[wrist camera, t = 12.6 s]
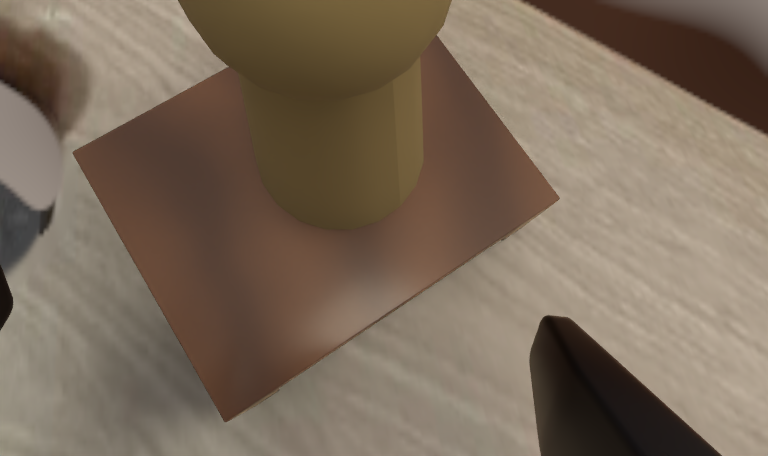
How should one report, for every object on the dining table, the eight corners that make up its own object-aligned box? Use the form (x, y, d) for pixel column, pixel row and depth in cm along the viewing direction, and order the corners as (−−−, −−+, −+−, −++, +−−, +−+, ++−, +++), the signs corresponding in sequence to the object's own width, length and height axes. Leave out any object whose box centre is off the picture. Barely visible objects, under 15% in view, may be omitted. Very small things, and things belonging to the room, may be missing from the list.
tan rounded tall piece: (228, 112, 18) (39, -214, 8) (377, 48, 19) (394, -330, 8) (299, 260, 17) (193, 118, 7) (454, 184, 18) (585, -51, 7)
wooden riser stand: (254, 407, 20) (224, 423, 16) (128, 190, 22) (71, 151, 18) (522, 227, 22) (560, 198, 18) (387, 43, 24) (393, -24, 20)
